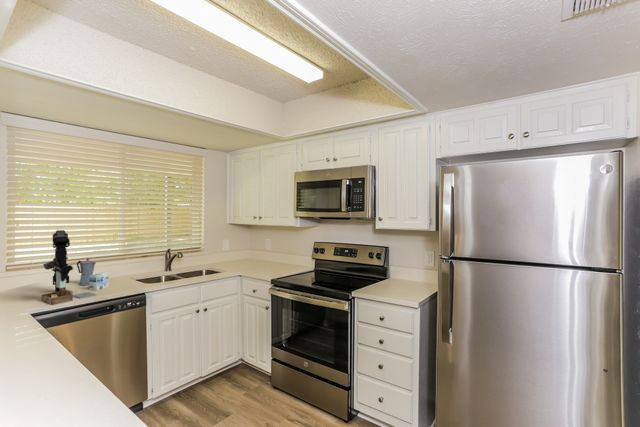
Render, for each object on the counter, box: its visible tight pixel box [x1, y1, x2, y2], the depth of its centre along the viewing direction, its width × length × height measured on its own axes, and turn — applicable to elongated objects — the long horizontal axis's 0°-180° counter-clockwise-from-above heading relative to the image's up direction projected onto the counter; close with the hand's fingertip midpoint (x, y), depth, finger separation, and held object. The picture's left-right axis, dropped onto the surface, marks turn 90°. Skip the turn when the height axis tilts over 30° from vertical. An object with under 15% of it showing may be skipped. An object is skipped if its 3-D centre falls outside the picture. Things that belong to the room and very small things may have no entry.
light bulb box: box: [89, 272, 110, 291], centre depth 237 cm, size 11×7×11 cm, turn 168°
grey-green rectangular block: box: [56, 271, 67, 288], centre depth 206 cm, size 6×3×10 cm, turn 58°
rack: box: [41, 288, 74, 306], centre depth 204 cm, size 16×10×6 cm, turn 58°
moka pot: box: [76, 258, 96, 286], centre depth 250 cm, size 10×15×20 cm, turn 89°
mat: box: [73, 291, 98, 299], centre depth 217 cm, size 12×10×1 cm
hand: (60, 280), depth 206 cm, fingers closed on grey-green rectangular block, 5 cm apart
